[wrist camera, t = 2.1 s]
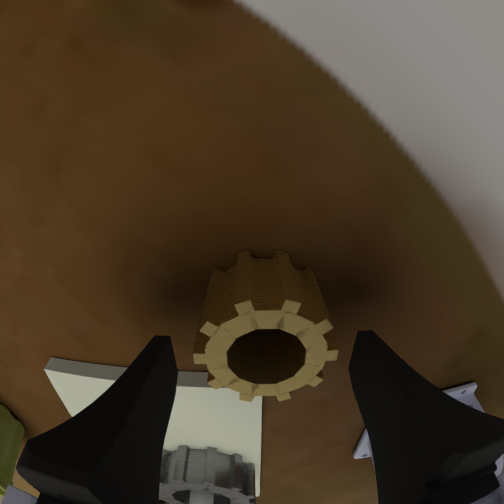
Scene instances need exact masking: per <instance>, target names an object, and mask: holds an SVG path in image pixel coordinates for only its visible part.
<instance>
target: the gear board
mask: <svg viewBox="0 0 504 504" xmlns="http://www.w3.org/2000/svg"><path fill="white" fill-rule="evenodd" d="M127 368H128V367H118V366H108V365H100V364H92V363H85V362H77V361H71V360H64V359H58V358H52V357H51V359H50V360H49V362H48V364H47V365H46V367H45V368H44V370H45V372H46V374H47V375H48V377H49V379H50V381H51V383H52V384H53V386H54V388H55V390H56V391H57V393H58V395H59V397H60V398H61V400H62V402H63V403H64V405H65V406H66V408H67V410H68V411H69V413H70V414H71V416H72V417H73V416H75V415H76V414H78V413H79V412H80V411H82V410H83V409H84V408H86V407H87V406H89V405H90V404H91V403H92V402H94V401H95V400H96V399H97V398H98V397H99V396H101V395H102V394H103V393H104V392H105V391H106V390H107V389H108V388H109V387H110V386H111V385H112V384H113V383H114V382H115V381H116V380H117V379H118V378H119V377H120V376H121V375H122V374H123V373H124V372H125V370H126V369H127ZM207 378H208V372H185V371H178V379H177V388H176V395H175V399H174V404H173V408H172V412H171V416H170V420H169V424H168V428H167V432H166V436H165V440H164V446H163V449H165V450H167V451H174V450H178V446H184V445H187V446H188V447H189V448H190V449H207V447H213V448H217V451H218V452H221V453H225V454H229V455H232V454H234V453H237V454H239V455H241V456H242V461H243V462H245V463H253V464H254V466H255V491H256V496H259V493H260V461H261V424H262V396H255V397H254V399H253V401H252V402H248V401H242V400H239V392H237V391H234V390H231V389H228V388H226V387H224V386H223V387H221V388H219V389H216V390H215V389H214V388H213V387H212V386H210V385H209V384H208V383H207ZM213 499H214V493H213V492H208V491H200V490H191V491H190V501H189V504H213Z"/></svg>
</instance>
